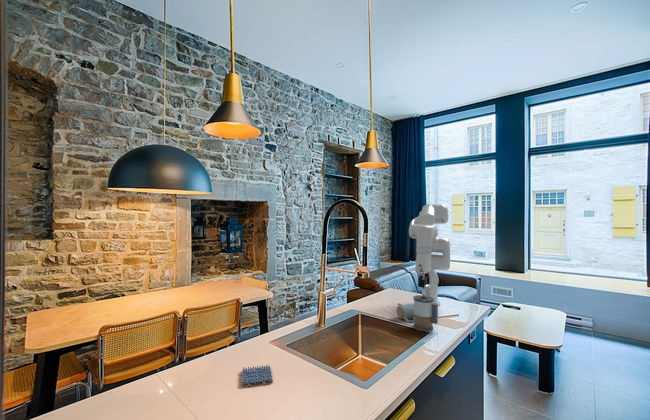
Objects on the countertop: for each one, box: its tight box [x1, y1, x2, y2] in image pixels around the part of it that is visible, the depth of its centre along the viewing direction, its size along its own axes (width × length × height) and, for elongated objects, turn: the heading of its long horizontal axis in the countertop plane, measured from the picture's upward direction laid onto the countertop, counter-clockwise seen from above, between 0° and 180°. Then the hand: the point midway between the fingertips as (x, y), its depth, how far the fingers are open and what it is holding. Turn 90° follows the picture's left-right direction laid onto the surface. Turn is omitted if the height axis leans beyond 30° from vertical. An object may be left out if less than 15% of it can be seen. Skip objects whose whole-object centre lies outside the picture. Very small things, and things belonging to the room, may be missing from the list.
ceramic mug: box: [396, 303, 414, 324], centre depth 159 cm, size 11×8×8 cm
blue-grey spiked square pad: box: [240, 364, 274, 389], centre depth 100 cm, size 10×11×2 cm
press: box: [412, 294, 439, 332], centre depth 147 cm, size 10×12×15 cm
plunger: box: [421, 276, 430, 299], centre depth 147 cm, size 6×6×13 cm
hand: (423, 285), depth 147 cm, fingers closed on plunger, 6 cm apart
